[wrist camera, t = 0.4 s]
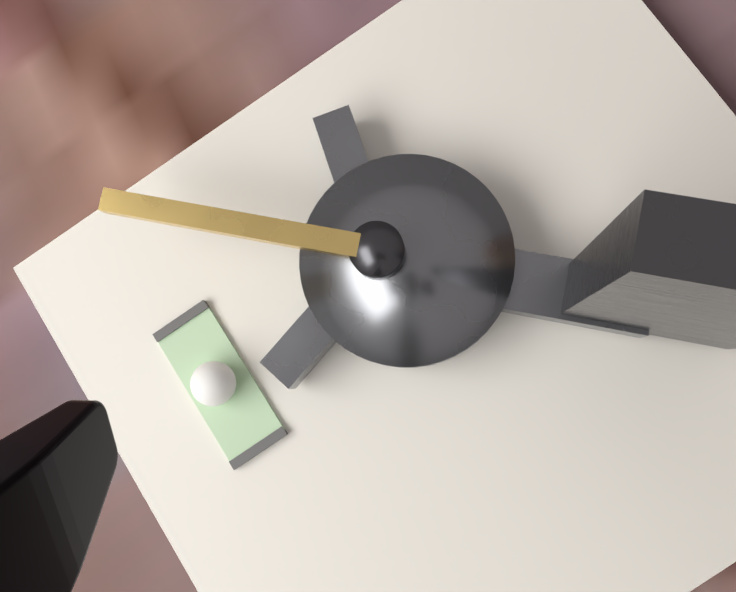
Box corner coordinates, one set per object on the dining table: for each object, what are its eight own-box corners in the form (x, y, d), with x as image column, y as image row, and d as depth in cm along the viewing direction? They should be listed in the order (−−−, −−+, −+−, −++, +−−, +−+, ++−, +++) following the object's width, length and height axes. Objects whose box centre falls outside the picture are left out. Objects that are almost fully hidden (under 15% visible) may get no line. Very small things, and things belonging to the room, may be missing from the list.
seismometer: (100, 347, 23) (-124, 326, 14) (162, 87, 24) (-11, -90, 15) (708, 475, 20) (910, 550, 11) (753, 178, 21) (975, 31, 12)
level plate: (948, 406, 21) (1011, 409, 18) (336, 803, 22) (322, 856, 19) (551, -86, 24) (562, -137, 22) (30, 272, 25) (-14, 260, 22)
